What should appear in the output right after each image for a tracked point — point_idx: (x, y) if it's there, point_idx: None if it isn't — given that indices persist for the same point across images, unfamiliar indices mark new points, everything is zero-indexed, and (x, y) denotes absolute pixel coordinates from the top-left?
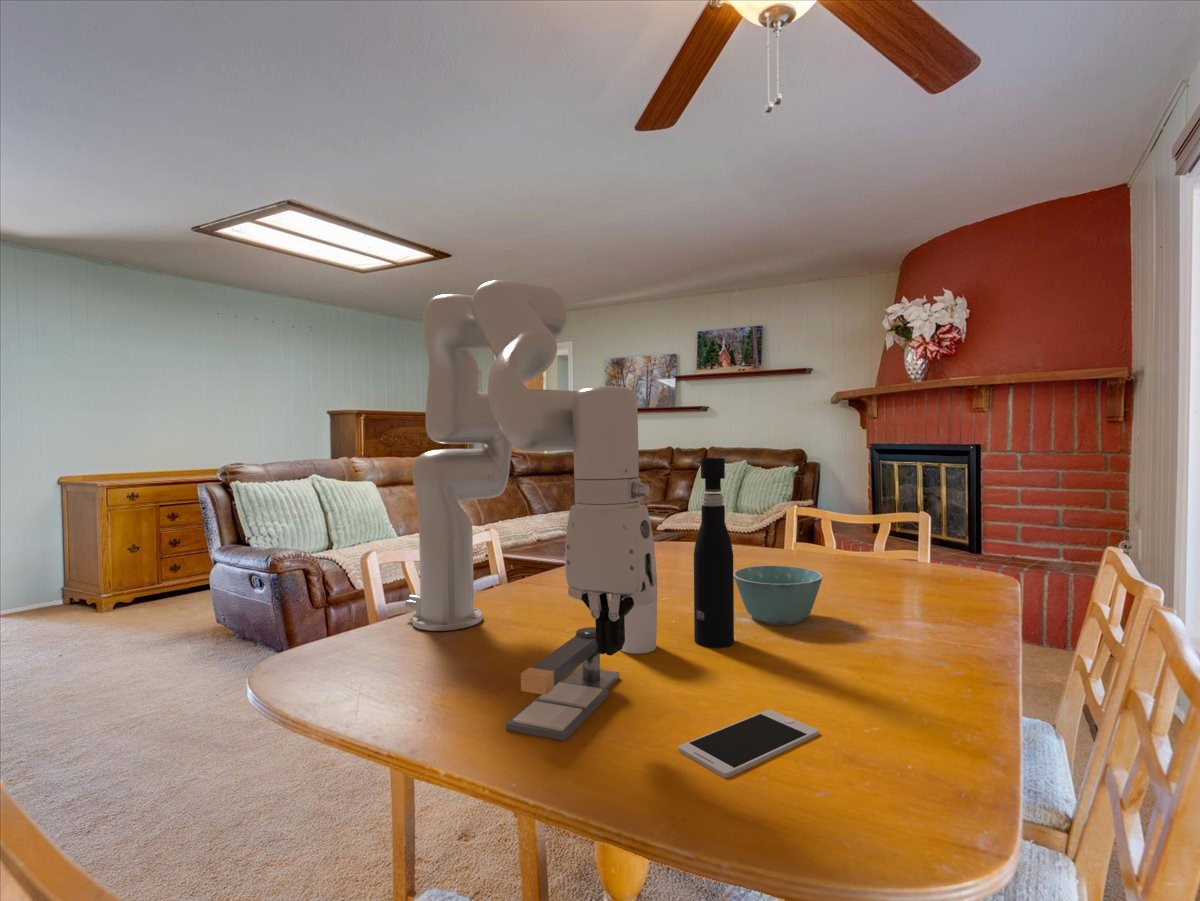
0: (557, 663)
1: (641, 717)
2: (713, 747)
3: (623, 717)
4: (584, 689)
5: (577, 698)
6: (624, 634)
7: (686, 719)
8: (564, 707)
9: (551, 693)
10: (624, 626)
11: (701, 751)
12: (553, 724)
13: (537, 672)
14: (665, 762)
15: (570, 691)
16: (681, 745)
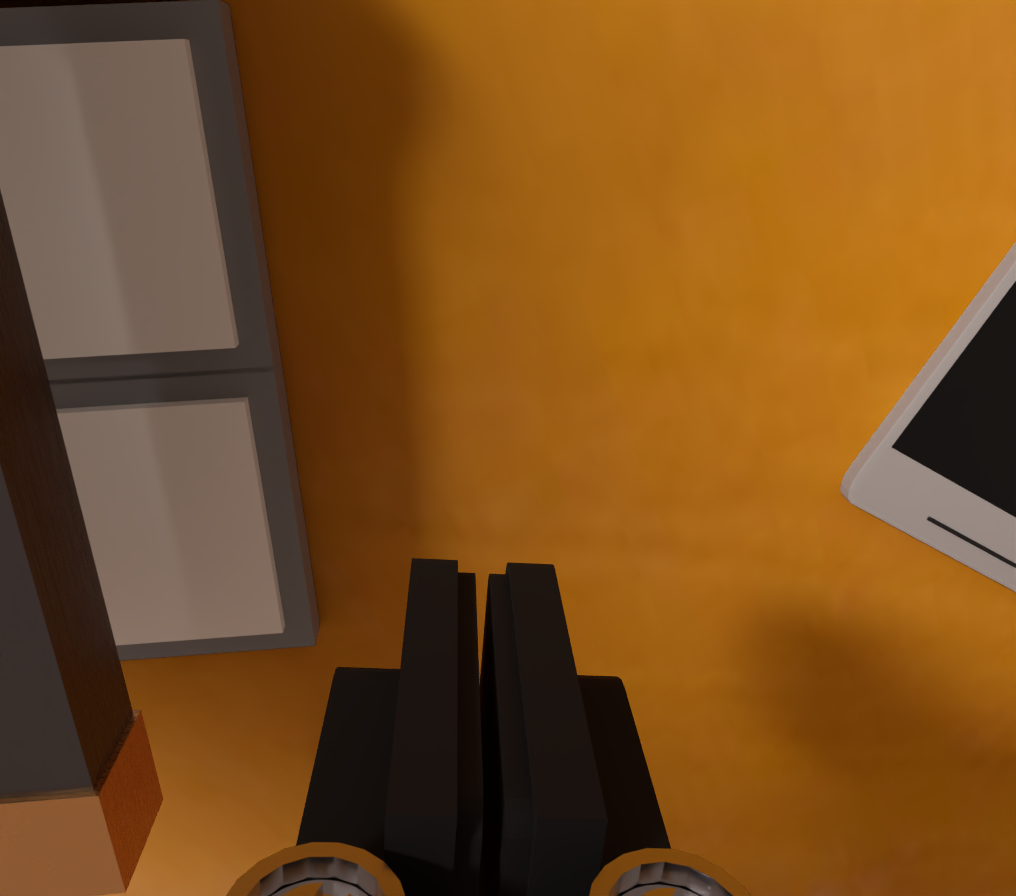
0: (3, 654)
1: (566, 232)
2: (1010, 441)
3: (468, 276)
4: (73, 110)
5: (127, 277)
6: (633, 731)
7: (825, 146)
8: (138, 428)
9: None
10: (655, 800)
11: (957, 495)
12: (215, 616)
13: (12, 859)
14: (804, 597)
15: (7, 189)
16: (862, 484)
